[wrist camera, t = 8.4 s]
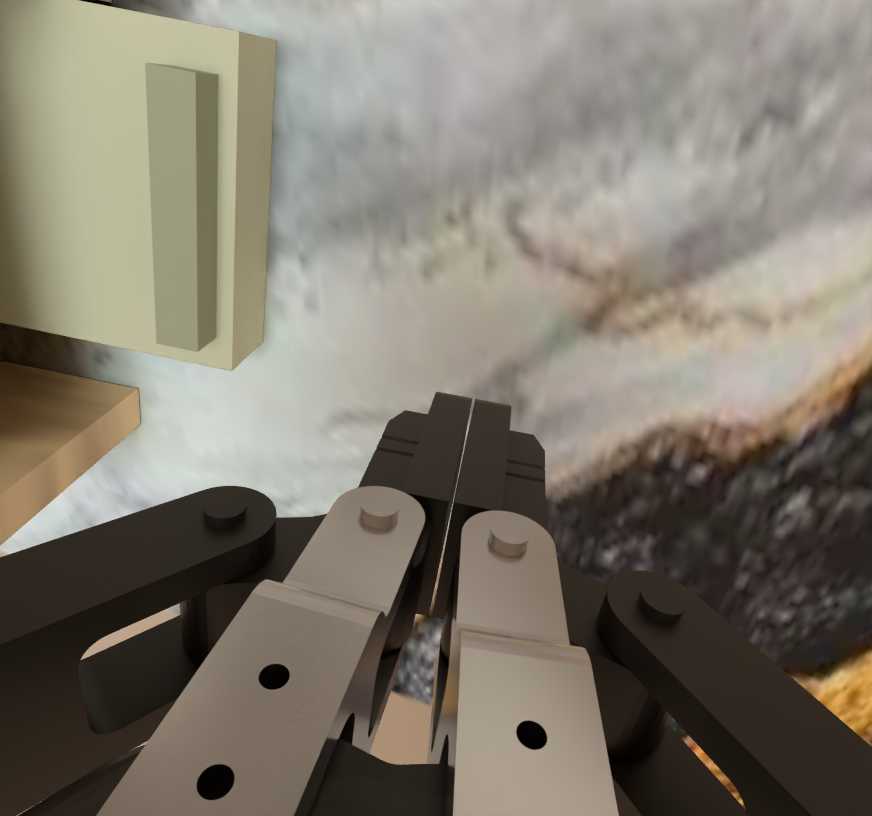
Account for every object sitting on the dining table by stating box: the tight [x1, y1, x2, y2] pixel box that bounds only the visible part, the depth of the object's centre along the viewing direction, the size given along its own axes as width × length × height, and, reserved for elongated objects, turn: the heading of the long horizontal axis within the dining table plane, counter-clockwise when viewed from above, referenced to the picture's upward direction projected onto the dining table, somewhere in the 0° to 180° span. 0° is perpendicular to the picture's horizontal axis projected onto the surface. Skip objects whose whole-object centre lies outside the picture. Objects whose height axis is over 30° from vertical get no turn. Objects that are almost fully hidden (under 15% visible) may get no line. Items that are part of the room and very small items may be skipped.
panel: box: [0, 0, 277, 371], centre depth 18 cm, size 11×9×4 cm
